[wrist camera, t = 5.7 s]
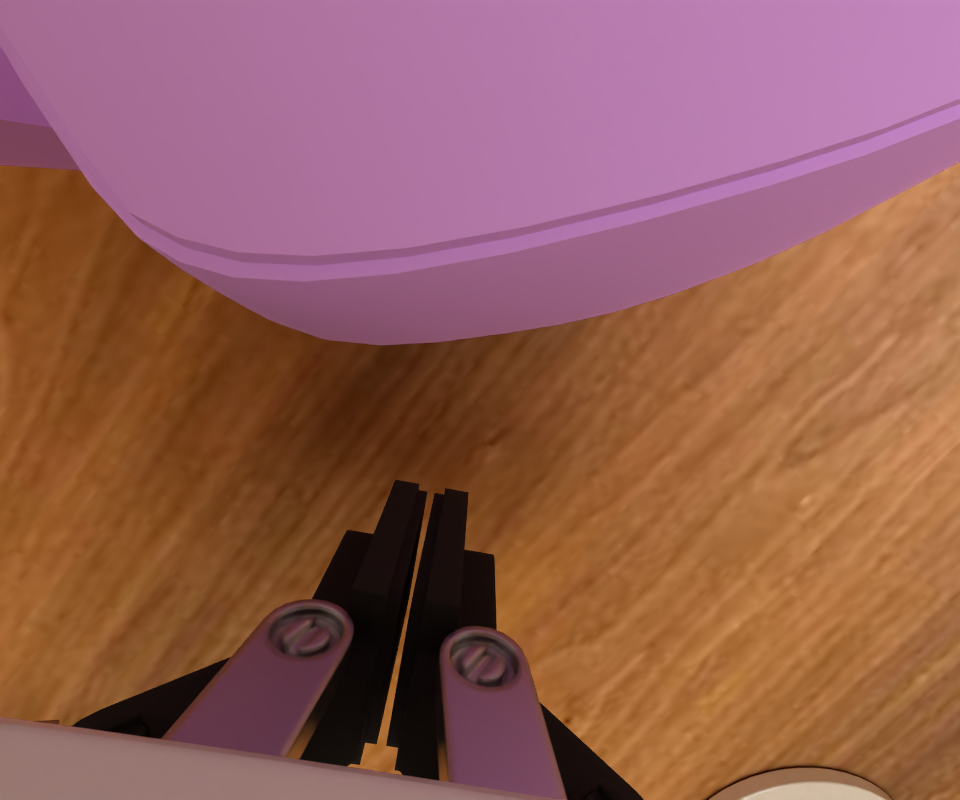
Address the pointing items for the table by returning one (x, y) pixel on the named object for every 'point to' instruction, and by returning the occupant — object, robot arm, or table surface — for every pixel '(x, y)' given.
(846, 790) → the coaster
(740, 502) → the table surface
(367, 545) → the robot arm
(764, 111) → the teapot
